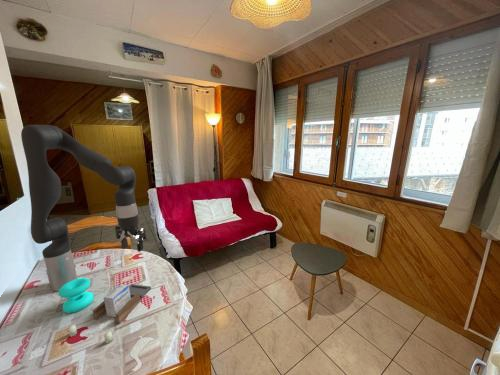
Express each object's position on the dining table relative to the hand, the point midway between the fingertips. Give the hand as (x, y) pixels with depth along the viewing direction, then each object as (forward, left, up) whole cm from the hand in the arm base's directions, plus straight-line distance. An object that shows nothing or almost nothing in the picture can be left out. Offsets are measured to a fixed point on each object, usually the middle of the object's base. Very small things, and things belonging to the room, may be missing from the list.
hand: (132, 249), depth 87 cm
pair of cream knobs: (-1, -23, -21) cm, 31 cm away
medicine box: (-1, -11, -21) cm, 24 cm away
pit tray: (-1, -1, -21) cm, 21 cm away
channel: (-1, -11, -21) cm, 24 cm away
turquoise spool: (-20, -12, -21) cm, 31 cm away
